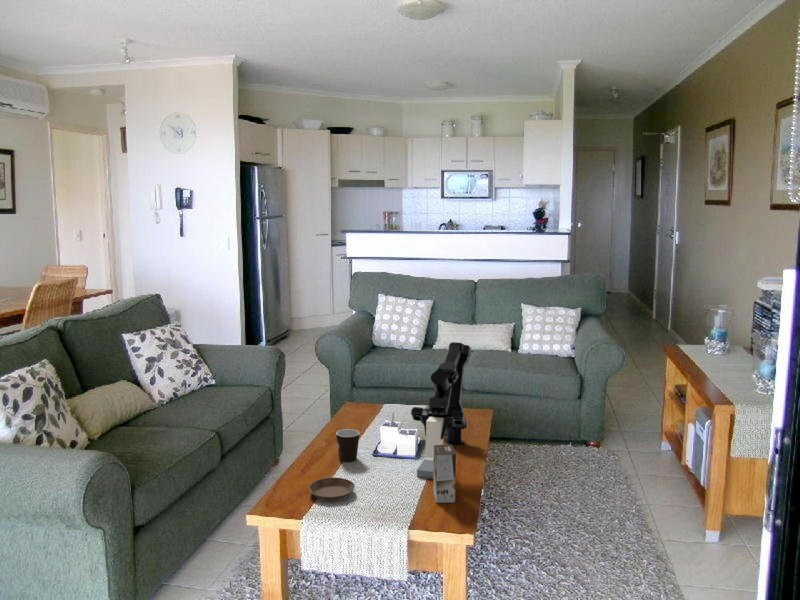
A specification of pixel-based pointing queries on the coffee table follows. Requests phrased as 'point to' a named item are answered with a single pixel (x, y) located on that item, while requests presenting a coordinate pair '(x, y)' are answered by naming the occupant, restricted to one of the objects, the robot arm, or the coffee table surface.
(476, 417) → the coffee table surface
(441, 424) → the post
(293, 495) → the coffee table surface
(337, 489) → the saucer
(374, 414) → the coffee table surface
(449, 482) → the coffee box
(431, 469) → the plinth
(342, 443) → the coffee mug
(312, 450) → the coffee table surface
